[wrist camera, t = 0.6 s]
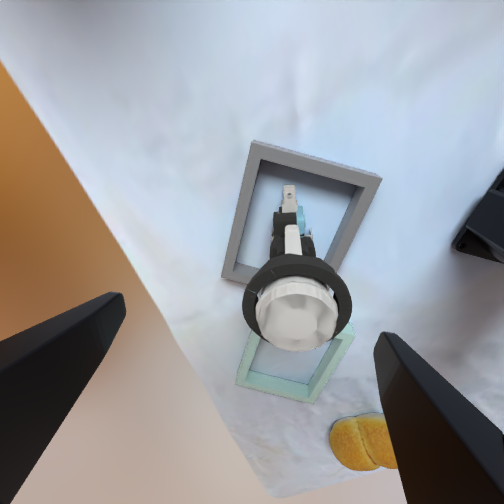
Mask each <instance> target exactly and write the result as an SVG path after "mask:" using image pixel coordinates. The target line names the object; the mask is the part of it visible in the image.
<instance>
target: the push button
mask: <svg viewBox="0 0 504 504" xmlns="http://www.w3.org/2000/svg"><path fill="white" fill-rule="evenodd" d="M288 193H291V195H288ZM273 227H274V236H273V229H272V230H271V246H270V260H269V261H268V262H267V263H266V264H265V265H264V266H263V267H262V268H261V269H260V270H259V271H258V272H257V273H256V274H255V275H254V276H253V277H252V279H251V280H250V282H249V283H248V285H247V287H246V289H245V292H244V296H243V301H242V310H243V315H244V318H245V320H246V322H247V324H248V325H249V327H250V328H251V329H252V330H253V331H254V332H255V333H256V334H257V335H258V336H259V337H261V338H262V339H264V340H266V341H268V342H270V343H271V344H272V345H274V346H276V347H278V348H281V349H285V350H287V351H295V352H299V351H308V350H311V349H316V348H317V347H320V346H322V345H323V344H324V343H325V342H327V341H329V340H331V339H333V338H334V337H336V336H337V335H338V334H339V333H340V332H341V331H342V330H343V329H344V328H345V326H346V325H347V323H348V321H349V319H350V317H351V313H352V300H351V296H350V293H349V291H348V288H347V286H346V284H345V283H344V281H343V280H342V279H341V278H340V276H338V275H337V274H336V273H335V270H334V269H333V268H332V267H331V266H330V265H328V264H327V263H326V262H324V261H323V260H322V259H320V258H316V252H315V248H314V244H313V241H312V231H311V228H310V235H305V236H304V227H305V216H304V213H303V208H302V206H298V204H297V200H296V199H295V186H294V185H285V186H284V200H282V207H279V212H274V216H273ZM327 285H328V286H329V287H330V288H331V289H332V290H333V291H334V295H333V297H332V296H331V295H330V293H329V292H328V288H327ZM261 288H262V295H261V297H260V299H259V300H258V297H257V294H258V292H259V291H260V290H261Z"/></svg>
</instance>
